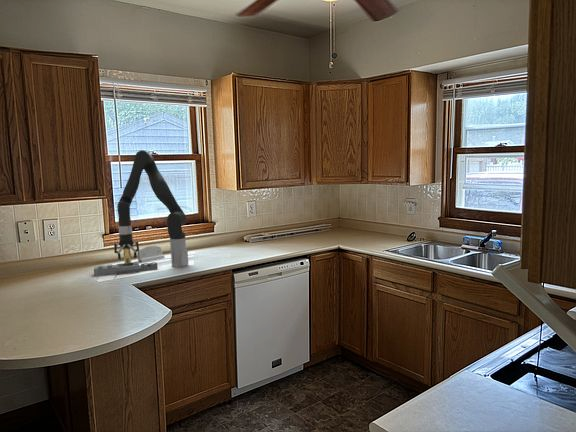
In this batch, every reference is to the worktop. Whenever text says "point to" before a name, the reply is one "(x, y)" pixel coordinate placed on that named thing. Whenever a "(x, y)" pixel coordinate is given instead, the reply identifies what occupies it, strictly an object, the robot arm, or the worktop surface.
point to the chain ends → (124, 268)
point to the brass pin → (127, 255)
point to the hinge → (150, 253)
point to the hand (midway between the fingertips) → (127, 258)
